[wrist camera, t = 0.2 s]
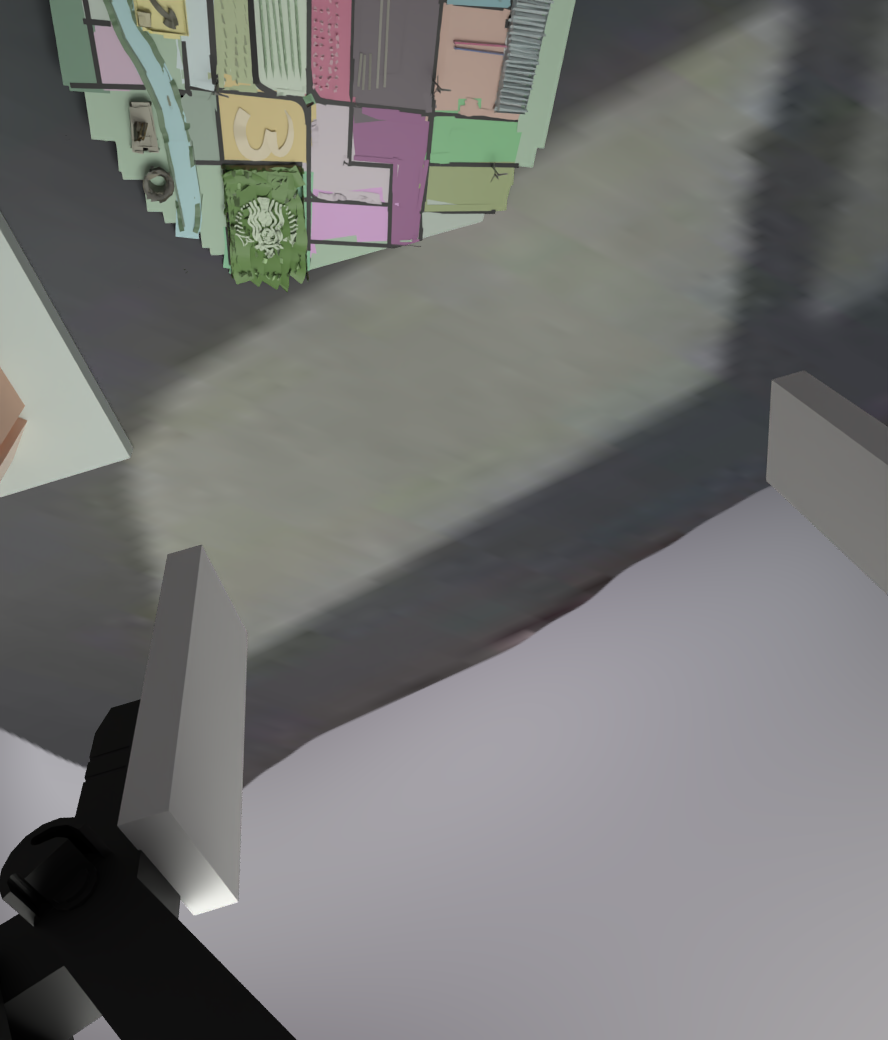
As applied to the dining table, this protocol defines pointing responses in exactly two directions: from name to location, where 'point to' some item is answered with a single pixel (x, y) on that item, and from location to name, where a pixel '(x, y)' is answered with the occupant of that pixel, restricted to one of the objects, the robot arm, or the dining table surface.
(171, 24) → the city model
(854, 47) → the dining table surface
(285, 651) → the dining table surface
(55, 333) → the board
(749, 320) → the dining table surface
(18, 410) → the terracotta bead
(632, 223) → the dining table surface
